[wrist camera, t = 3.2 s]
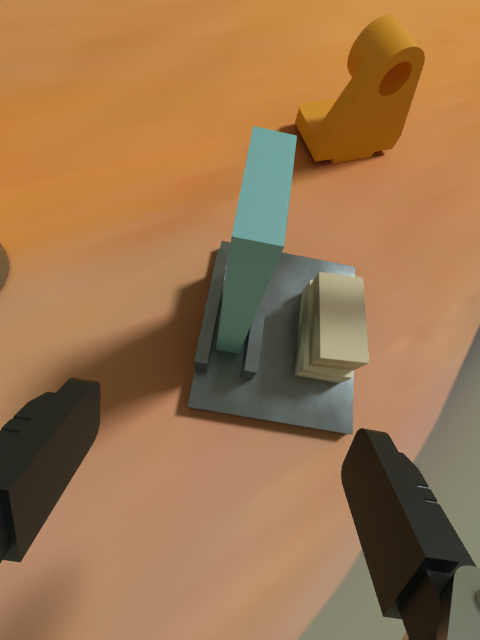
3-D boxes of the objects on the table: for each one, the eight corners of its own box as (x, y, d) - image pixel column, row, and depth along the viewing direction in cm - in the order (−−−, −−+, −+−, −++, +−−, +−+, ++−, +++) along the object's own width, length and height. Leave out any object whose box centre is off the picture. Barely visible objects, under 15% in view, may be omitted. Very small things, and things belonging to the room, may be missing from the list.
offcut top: (353, 370, 24) (369, 363, 22) (309, 365, 24) (320, 357, 22) (349, 291, 27) (363, 277, 25) (309, 286, 27) (319, 271, 24)
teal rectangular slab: (238, 353, 26) (284, 246, 12) (215, 349, 26) (231, 236, 12) (248, 292, 29) (297, 135, 14) (227, 288, 29) (253, 126, 14)
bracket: (363, 115, 42) (422, -4, 30) (388, 154, 39) (461, 42, 28) (290, 125, 39) (325, 1, 28) (312, 167, 37) (359, 51, 26)
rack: (346, 434, 26) (371, 434, 22) (187, 407, 26) (185, 402, 22) (349, 272, 32) (369, 250, 28) (221, 247, 31) (223, 220, 28)
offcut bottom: (339, 383, 27) (352, 378, 24) (294, 375, 26) (303, 369, 24) (342, 300, 29) (354, 288, 27) (301, 292, 29) (310, 280, 27)
